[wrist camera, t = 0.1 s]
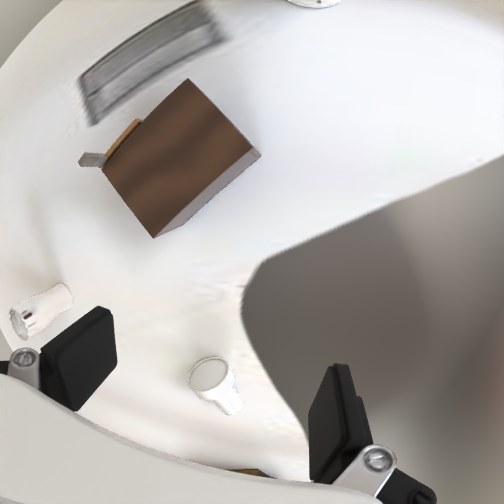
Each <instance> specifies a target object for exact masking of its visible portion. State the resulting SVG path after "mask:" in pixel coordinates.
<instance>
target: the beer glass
mask: <svg viewBox="0 0 504 504" xmlns="http://www.w3.org/2000/svg"><path fill="white" fill-rule="evenodd" d="M72 306H73V297H72V294H71V292H70V290H69V289H68V288H67V287H66V286H65V285H64V284H61V283H59V284H57V285H56V286H55V287H53V288H52V289H51V290H50V291H48V292H45V293H42V294H38V295H34V296H31V297H29V298H27V299H25V300H23V301H21V302H20V303H18V304H17V305H16V306H14V307H13V308H11V309H10V310H9V319H10V322H11V325H12V327H13V329H14V331H15V332H16V334H17V335H18V336H19V337H20V338H21V339H23V340H28V339H29V338H31V337H33V336H35V335H36V334H38V333H39V332H41V331H42V330H44V329H45V328H46V327H47V326H48V325H49V324H50V323H51V322H52V321H53V320H54V318H55V317H56V316H57V315H58V314H60V313H61V312H63V311H66V310H69V309H71V308H72Z"/></svg>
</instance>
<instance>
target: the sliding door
mask: <svg viewBox="0 0 504 504" xmlns="http://www.w3.org/2000/svg"><path fill="white" fill-rule="evenodd" d="M141 122H142V120H139V119H135V120H134V121H133V122H132V123H131V124H130V126H129V127H128V128H127V129H126V130H125V131H124V132H123V133H122V135H121V136H120V137H119V138H118V139H117V140H116V142H115V143H114V144H113V145H112V146H111V148H110V149H109V150H108V151H107V152H106V154H99V153H86V152H85V153H84V154H83V155H82V157H81V158H80V160H79V161H78V163H79V165H80V166H81V167H99V168H103V167H104V165H105V164H106V163H107V162H108V160H109V159H110V158H111V157H112V155H113V154H114V153H115V152H116V151H117V149H118V148H119V147H120V146H121V145H122V144H123V142H124V141H125V140H126V139H127V138H128V137H129V136H130V134H131V133H132V132H133V131H134V130H135V129H136V128H137V127H138V126H139V125H140V124H141Z"/></svg>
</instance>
